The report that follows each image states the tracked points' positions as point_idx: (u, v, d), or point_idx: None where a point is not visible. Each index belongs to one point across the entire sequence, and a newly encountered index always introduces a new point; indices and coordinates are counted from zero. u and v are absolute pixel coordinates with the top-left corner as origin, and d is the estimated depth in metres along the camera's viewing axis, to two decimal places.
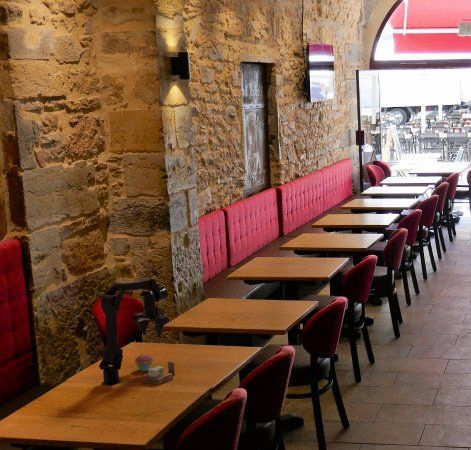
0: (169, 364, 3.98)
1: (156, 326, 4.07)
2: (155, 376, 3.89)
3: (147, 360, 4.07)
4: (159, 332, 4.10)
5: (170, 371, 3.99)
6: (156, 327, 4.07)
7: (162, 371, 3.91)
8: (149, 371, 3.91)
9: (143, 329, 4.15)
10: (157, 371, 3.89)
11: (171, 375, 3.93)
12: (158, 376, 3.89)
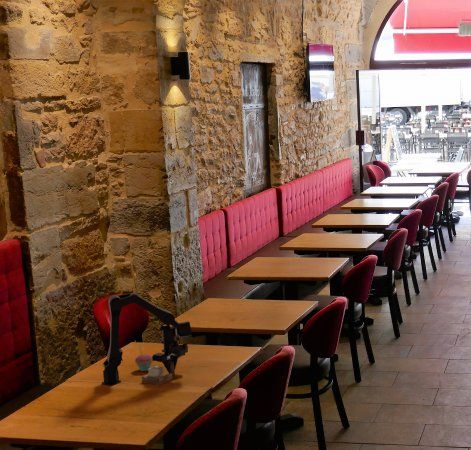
0: None
1: None
2: (155, 376, 3.89)
3: (147, 360, 4.07)
4: (166, 367, 3.98)
5: (170, 371, 3.99)
6: None
7: (162, 371, 3.91)
8: (149, 371, 3.91)
9: None
10: (157, 371, 3.89)
11: (171, 375, 3.93)
12: (158, 376, 3.89)
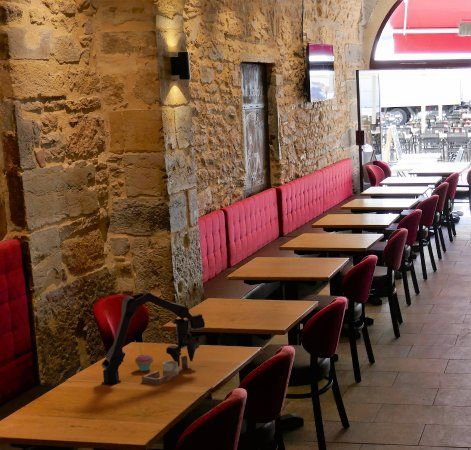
0: (182, 358, 4.06)
1: None
2: (169, 370, 3.96)
3: (147, 360, 4.07)
4: (176, 361, 4.03)
5: (183, 366, 4.06)
6: None
7: (176, 365, 3.99)
8: (163, 365, 3.98)
9: (189, 355, 4.11)
10: (171, 365, 3.96)
11: (171, 375, 3.93)
12: (172, 370, 3.97)
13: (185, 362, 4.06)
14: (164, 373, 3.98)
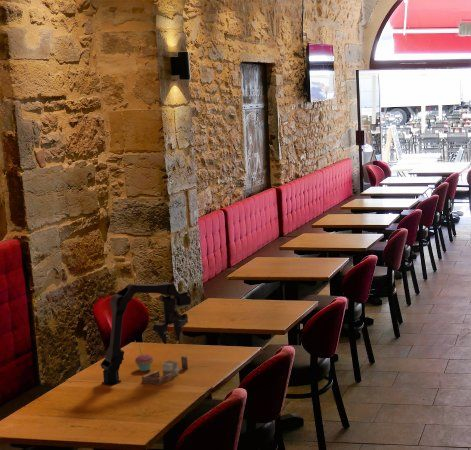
0: (182, 358, 4.06)
1: None
2: (169, 370, 3.96)
3: (147, 360, 4.07)
4: (162, 338, 4.04)
5: (183, 366, 4.06)
6: None
7: (176, 365, 3.99)
8: (163, 365, 3.98)
9: (176, 332, 4.12)
10: (171, 365, 3.96)
11: (171, 375, 3.93)
12: (172, 370, 3.97)
13: (185, 362, 4.06)
14: (164, 373, 3.98)
